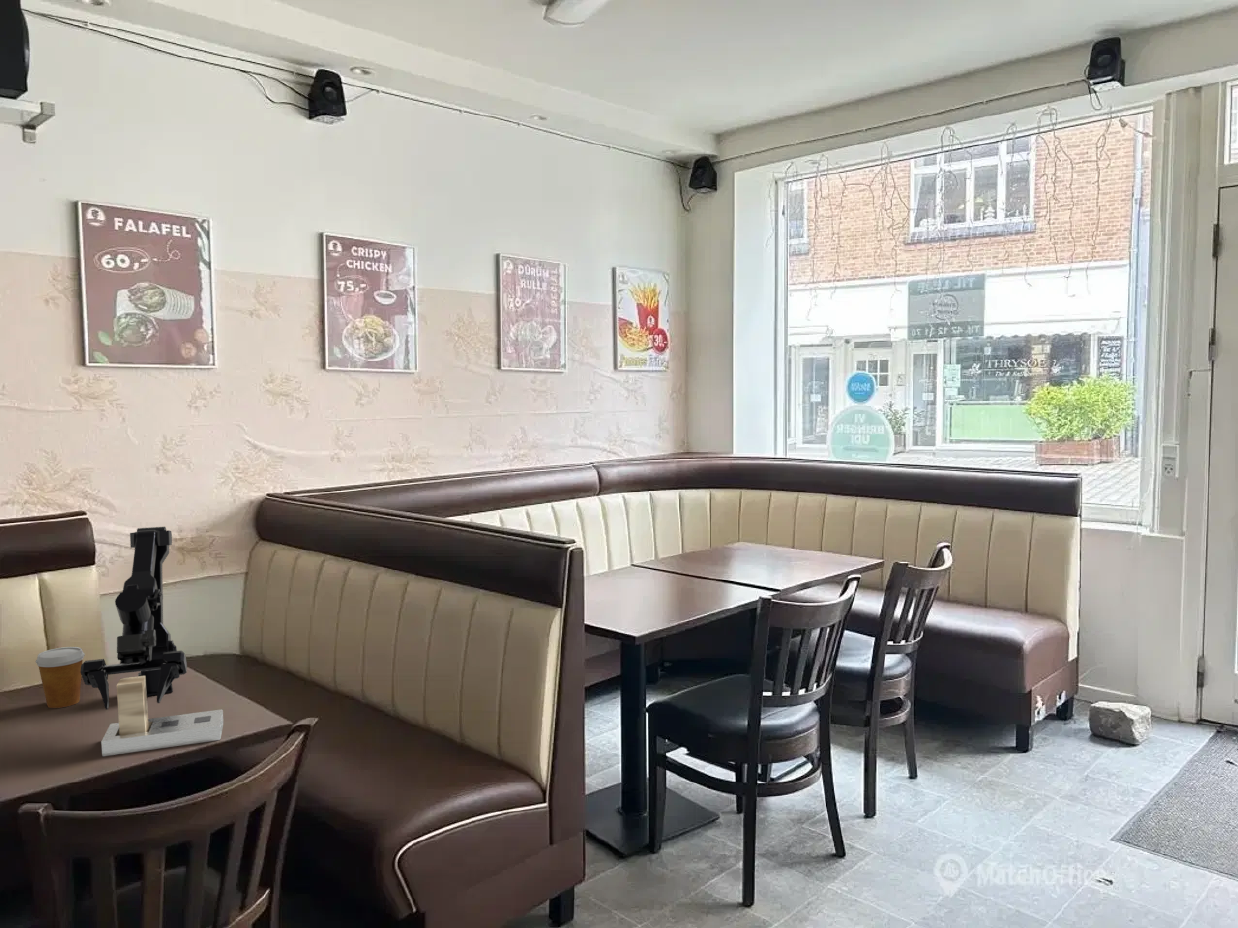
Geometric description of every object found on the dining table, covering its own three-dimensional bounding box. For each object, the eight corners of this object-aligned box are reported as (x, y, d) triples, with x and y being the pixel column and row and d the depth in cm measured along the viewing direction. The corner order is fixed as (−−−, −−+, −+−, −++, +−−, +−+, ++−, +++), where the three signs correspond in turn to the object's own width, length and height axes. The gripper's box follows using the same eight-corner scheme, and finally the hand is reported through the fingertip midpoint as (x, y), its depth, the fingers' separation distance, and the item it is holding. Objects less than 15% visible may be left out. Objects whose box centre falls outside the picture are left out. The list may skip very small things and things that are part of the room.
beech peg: (124, 740, 180) (120, 678, 179) (149, 737, 182) (145, 675, 181) (120, 749, 176) (116, 685, 175) (146, 745, 178) (142, 682, 176)
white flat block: (223, 722, 189) (222, 708, 189) (220, 739, 180) (219, 724, 180) (111, 737, 182) (110, 723, 182) (102, 756, 172) (101, 740, 172)
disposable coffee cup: (93, 702, 203) (90, 651, 203) (45, 713, 197) (41, 660, 196) (80, 693, 210) (77, 643, 209) (33, 704, 203) (29, 652, 202)
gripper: (79, 622, 178) (70, 692, 169) (182, 612, 185) (179, 680, 175) (89, 649, 186) (82, 719, 177) (187, 639, 193) (185, 705, 183)
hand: (132, 705), depth 178 cm, fingers open, 9 cm apart
